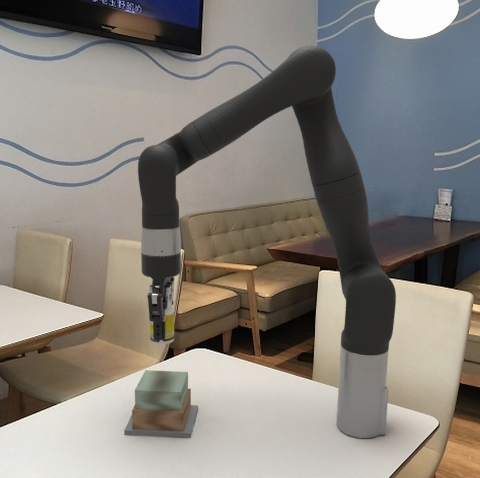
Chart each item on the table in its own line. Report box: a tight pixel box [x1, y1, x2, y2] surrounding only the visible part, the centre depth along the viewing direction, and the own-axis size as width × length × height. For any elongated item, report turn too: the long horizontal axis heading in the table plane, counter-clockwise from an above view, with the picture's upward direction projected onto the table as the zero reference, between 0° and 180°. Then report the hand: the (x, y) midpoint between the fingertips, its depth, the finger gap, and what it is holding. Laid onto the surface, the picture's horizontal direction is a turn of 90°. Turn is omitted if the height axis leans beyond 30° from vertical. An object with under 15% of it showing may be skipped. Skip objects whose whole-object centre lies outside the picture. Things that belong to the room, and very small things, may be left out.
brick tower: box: [131, 369, 192, 431], centre depth 110 cm, size 10×10×8 cm
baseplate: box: [123, 404, 199, 439], centre depth 111 cm, size 13×11×1 cm
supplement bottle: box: [149, 298, 175, 345], centre depth 107 cm, size 5×5×8 cm
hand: (162, 333), depth 107 cm, fingers closed on supplement bottle, 4 cm apart
